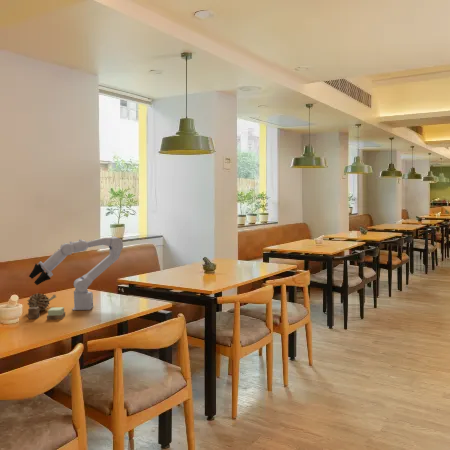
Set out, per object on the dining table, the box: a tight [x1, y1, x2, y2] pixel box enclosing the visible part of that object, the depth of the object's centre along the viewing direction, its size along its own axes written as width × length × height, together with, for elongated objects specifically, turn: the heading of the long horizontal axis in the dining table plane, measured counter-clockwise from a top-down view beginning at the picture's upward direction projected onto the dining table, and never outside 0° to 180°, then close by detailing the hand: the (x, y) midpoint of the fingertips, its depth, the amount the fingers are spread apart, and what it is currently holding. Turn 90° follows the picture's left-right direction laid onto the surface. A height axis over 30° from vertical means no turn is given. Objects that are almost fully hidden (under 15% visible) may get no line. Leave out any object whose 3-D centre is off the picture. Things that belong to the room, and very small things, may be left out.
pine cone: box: [26, 292, 57, 312], centre depth 255 cm, size 22×10×10 cm, turn 172°
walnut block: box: [27, 307, 41, 320], centre depth 238 cm, size 4×4×5 cm
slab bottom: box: [46, 311, 66, 321], centre depth 238 cm, size 7×7×2 cm
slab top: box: [47, 306, 65, 316], centre depth 237 cm, size 6×6×2 cm
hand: (32, 280), depth 246 cm, fingers open, 7 cm apart
